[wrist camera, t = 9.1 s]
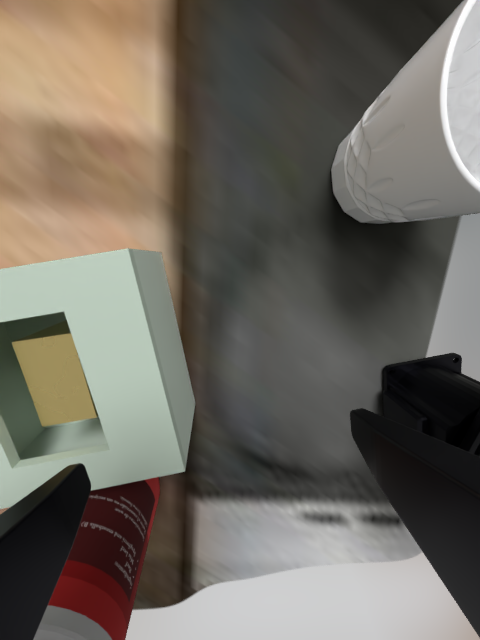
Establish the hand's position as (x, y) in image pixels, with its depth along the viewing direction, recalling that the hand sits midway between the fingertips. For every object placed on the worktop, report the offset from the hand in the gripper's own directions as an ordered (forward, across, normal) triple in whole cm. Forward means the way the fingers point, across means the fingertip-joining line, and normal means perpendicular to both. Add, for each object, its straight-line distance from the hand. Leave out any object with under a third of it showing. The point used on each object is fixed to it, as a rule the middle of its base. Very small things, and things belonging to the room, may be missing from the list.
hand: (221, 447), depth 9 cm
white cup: (+12, -13, -10) cm, 20 cm away
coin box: (+12, +9, -1) cm, 15 cm away
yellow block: (+11, +9, -1) cm, 14 cm away
